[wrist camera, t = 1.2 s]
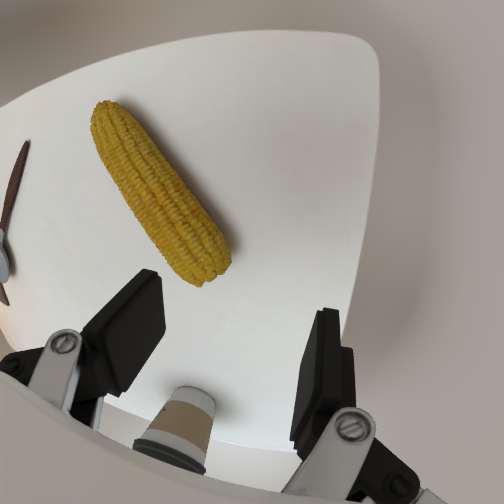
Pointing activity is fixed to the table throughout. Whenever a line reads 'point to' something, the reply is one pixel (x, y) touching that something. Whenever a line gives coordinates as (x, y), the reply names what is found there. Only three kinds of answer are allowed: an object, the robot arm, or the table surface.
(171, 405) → the coffee cup
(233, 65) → the table surface
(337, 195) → the table surface
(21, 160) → the spoon
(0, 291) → the spatula
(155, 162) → the food
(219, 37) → the table surface
